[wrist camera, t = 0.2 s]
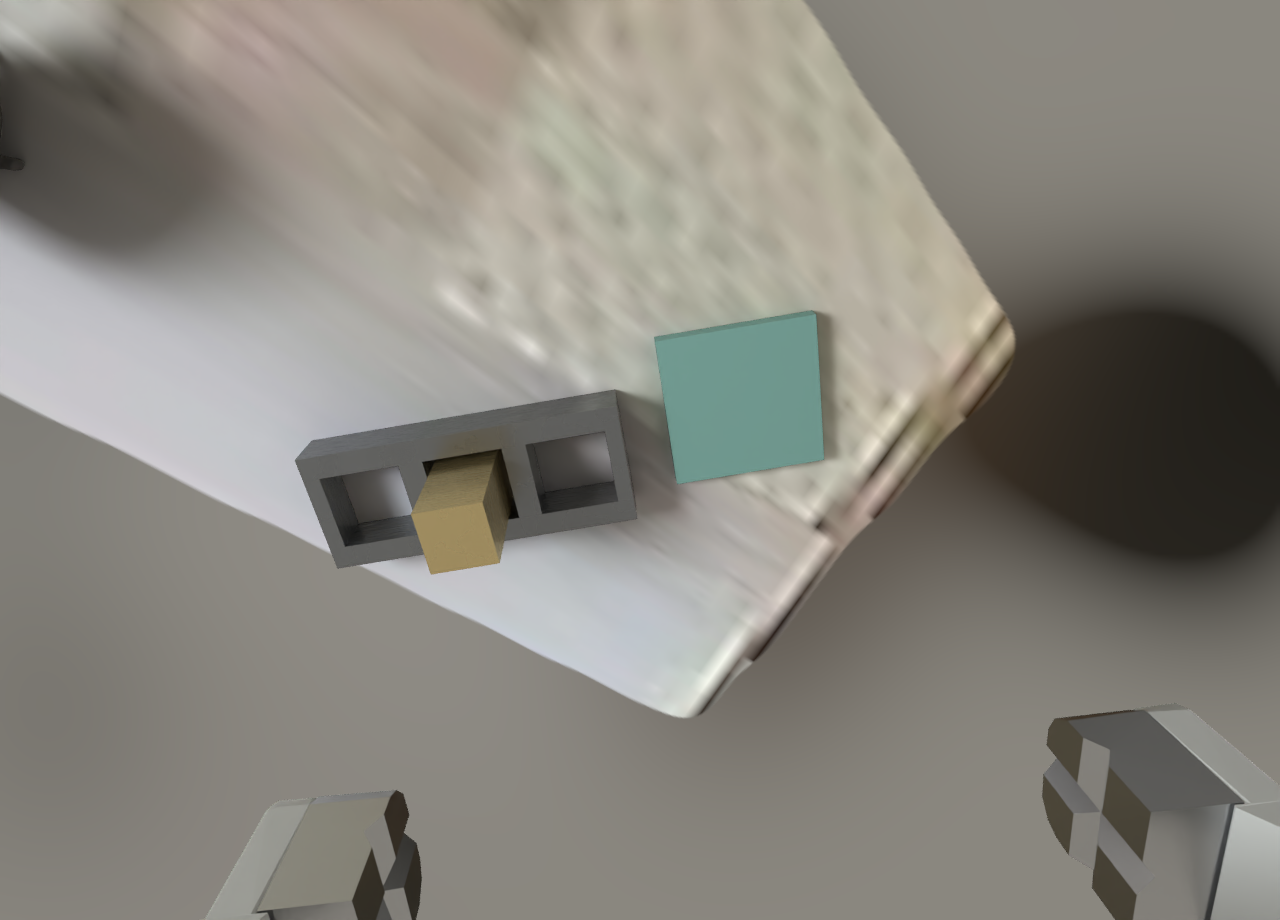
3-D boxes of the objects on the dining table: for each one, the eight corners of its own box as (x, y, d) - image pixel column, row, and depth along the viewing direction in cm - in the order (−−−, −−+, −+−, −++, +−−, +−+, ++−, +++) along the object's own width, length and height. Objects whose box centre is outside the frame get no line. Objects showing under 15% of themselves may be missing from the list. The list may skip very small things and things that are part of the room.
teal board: (654, 337, 46) (655, 341, 46) (811, 310, 46) (816, 314, 45) (675, 477, 51) (677, 484, 50) (820, 453, 51) (824, 459, 50)
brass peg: (441, 447, 49) (410, 514, 41) (500, 437, 49) (482, 502, 41) (456, 500, 51) (430, 574, 42) (514, 490, 50) (499, 562, 42)
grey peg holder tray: (311, 440, 48) (294, 460, 45) (615, 389, 48) (616, 406, 45) (351, 544, 51) (337, 568, 49) (634, 497, 51) (637, 518, 48)
